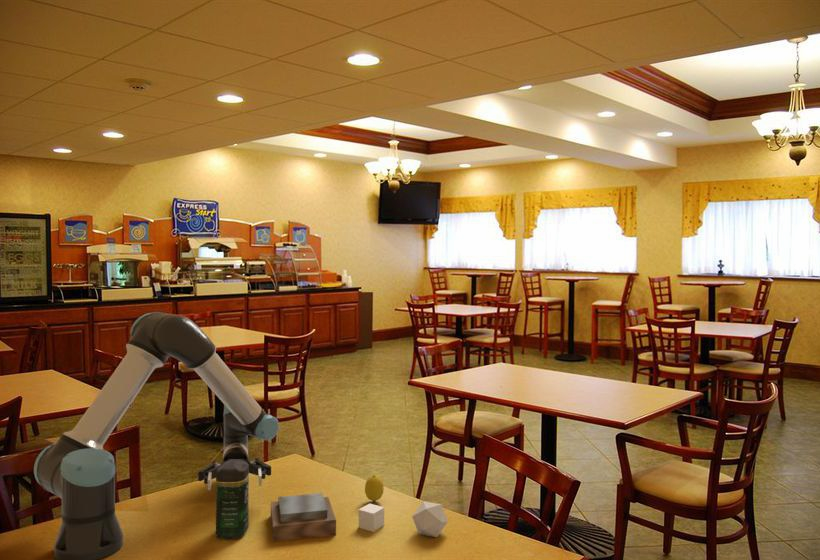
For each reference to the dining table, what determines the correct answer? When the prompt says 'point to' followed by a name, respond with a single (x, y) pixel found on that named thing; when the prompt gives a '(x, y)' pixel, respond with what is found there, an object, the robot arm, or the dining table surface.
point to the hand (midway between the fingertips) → (234, 483)
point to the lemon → (374, 488)
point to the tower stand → (302, 517)
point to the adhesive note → (371, 517)
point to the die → (430, 519)
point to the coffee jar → (232, 499)
